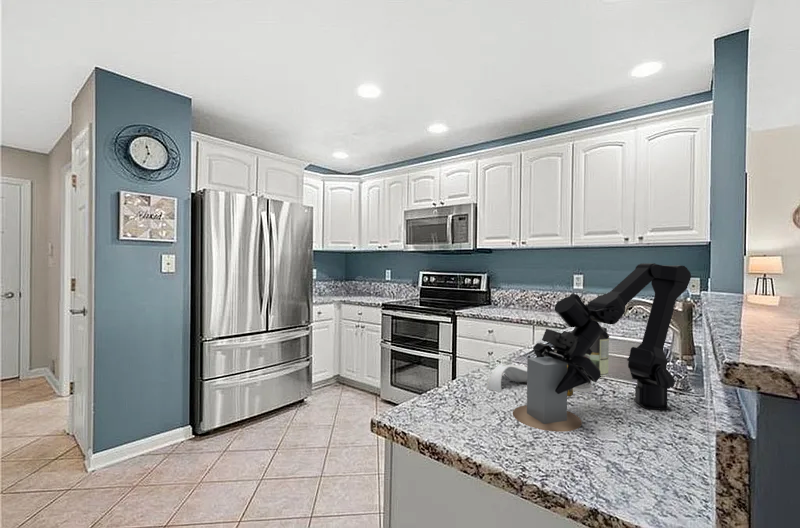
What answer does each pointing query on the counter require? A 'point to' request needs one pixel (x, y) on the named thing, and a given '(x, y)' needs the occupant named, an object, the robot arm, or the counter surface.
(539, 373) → the grey tall block
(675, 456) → the counter surface
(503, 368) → the white curved piece
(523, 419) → the plate
